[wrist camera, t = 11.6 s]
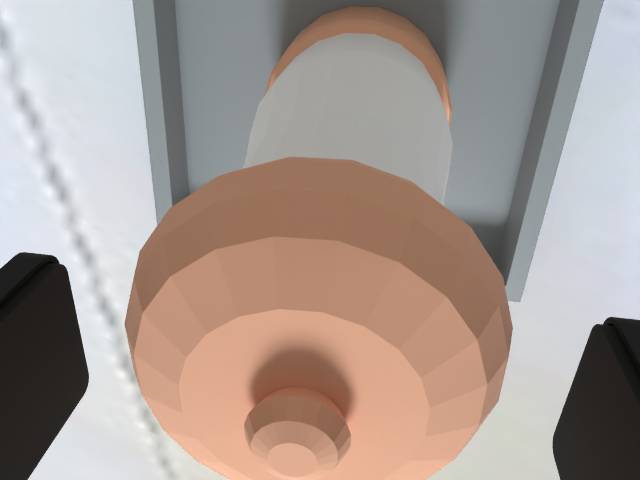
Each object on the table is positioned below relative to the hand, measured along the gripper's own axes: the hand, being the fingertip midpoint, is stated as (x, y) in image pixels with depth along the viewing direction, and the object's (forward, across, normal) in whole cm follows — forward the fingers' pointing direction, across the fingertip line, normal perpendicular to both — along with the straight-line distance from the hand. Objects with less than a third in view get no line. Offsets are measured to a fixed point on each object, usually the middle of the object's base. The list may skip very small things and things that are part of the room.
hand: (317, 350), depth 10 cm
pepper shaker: (+17, 0, 0) cm, 17 cm away
